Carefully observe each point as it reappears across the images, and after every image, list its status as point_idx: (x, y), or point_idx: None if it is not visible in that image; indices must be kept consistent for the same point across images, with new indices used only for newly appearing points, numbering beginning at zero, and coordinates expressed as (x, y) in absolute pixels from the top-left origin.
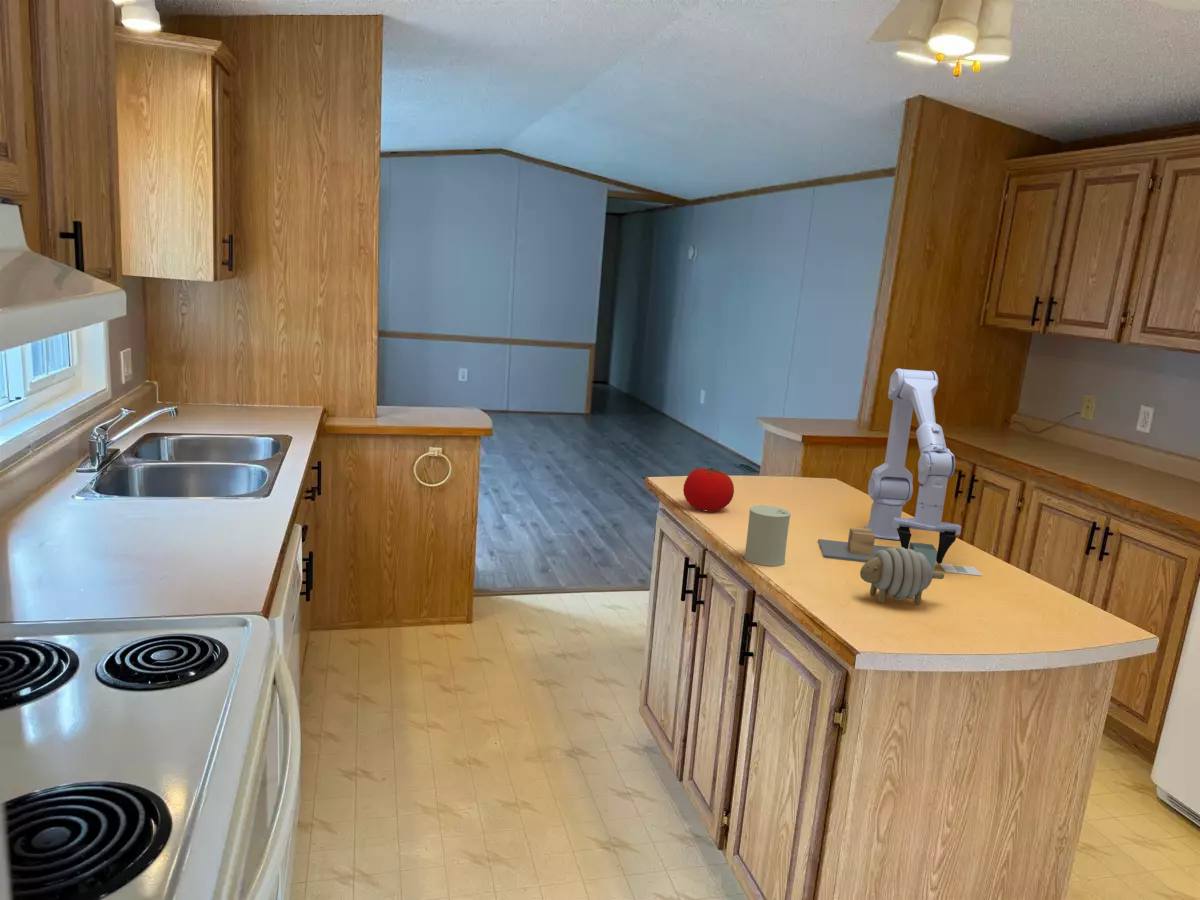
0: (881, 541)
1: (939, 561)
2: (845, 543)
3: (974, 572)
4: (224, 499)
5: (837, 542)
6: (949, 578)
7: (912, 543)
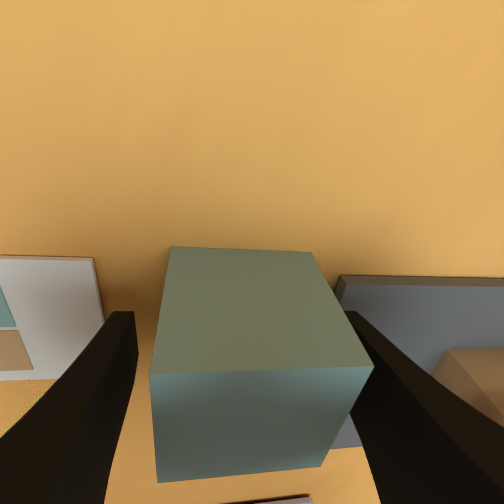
0: (287, 483)
1: (124, 320)
2: None
3: None
4: None
5: None
6: (72, 116)
7: (318, 451)
